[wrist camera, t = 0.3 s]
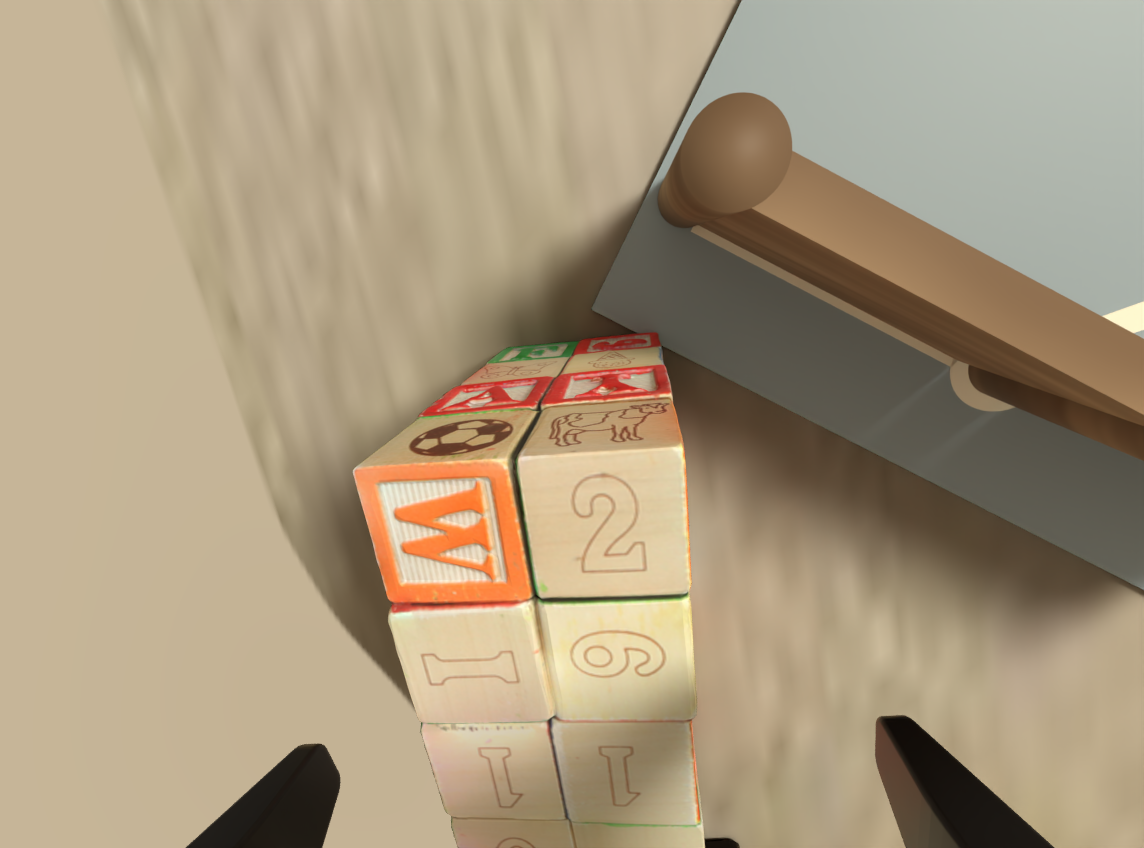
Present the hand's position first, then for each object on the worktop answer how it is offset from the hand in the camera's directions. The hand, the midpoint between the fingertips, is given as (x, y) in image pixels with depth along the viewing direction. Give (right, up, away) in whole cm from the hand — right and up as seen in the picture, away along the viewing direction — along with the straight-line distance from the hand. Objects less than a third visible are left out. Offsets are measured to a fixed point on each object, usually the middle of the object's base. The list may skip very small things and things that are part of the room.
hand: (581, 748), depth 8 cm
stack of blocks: (+1, -1, +16) cm, 16 cm away
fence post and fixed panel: (+10, +10, +11) cm, 18 cm away
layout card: (+17, +10, +10) cm, 22 cm away
